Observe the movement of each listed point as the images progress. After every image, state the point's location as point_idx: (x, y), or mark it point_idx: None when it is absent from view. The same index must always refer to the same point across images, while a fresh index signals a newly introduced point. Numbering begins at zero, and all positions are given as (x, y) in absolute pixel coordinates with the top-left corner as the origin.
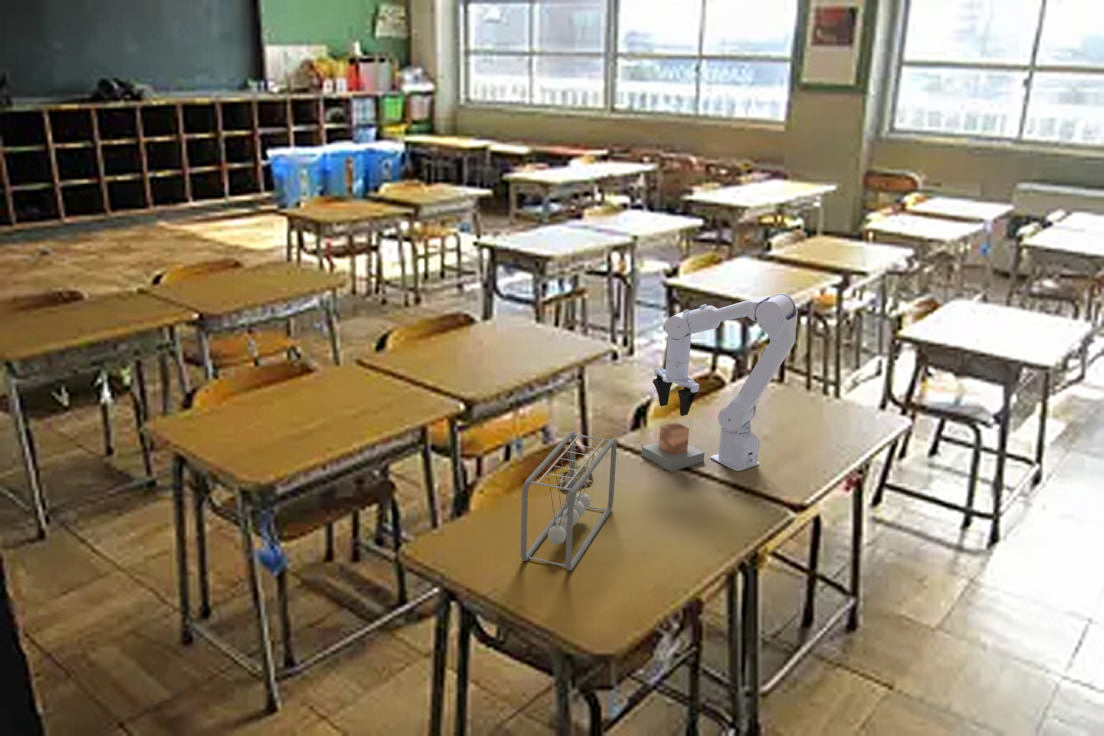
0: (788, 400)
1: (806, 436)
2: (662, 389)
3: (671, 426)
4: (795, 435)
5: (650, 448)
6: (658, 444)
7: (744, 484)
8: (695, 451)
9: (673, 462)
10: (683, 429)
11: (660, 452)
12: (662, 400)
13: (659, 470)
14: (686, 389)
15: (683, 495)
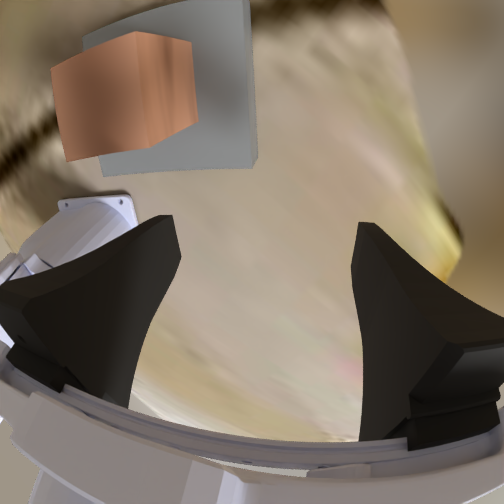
0: (298, 433)
1: (177, 385)
2: (391, 321)
3: (106, 89)
4: (186, 381)
5: (206, 10)
6: (223, 61)
7: (24, 174)
8: (115, 153)
9: (83, 42)
10: (63, 129)
11: (155, 29)
12: (367, 252)
13: (125, 7)
14: (36, 363)
15: (22, 26)
